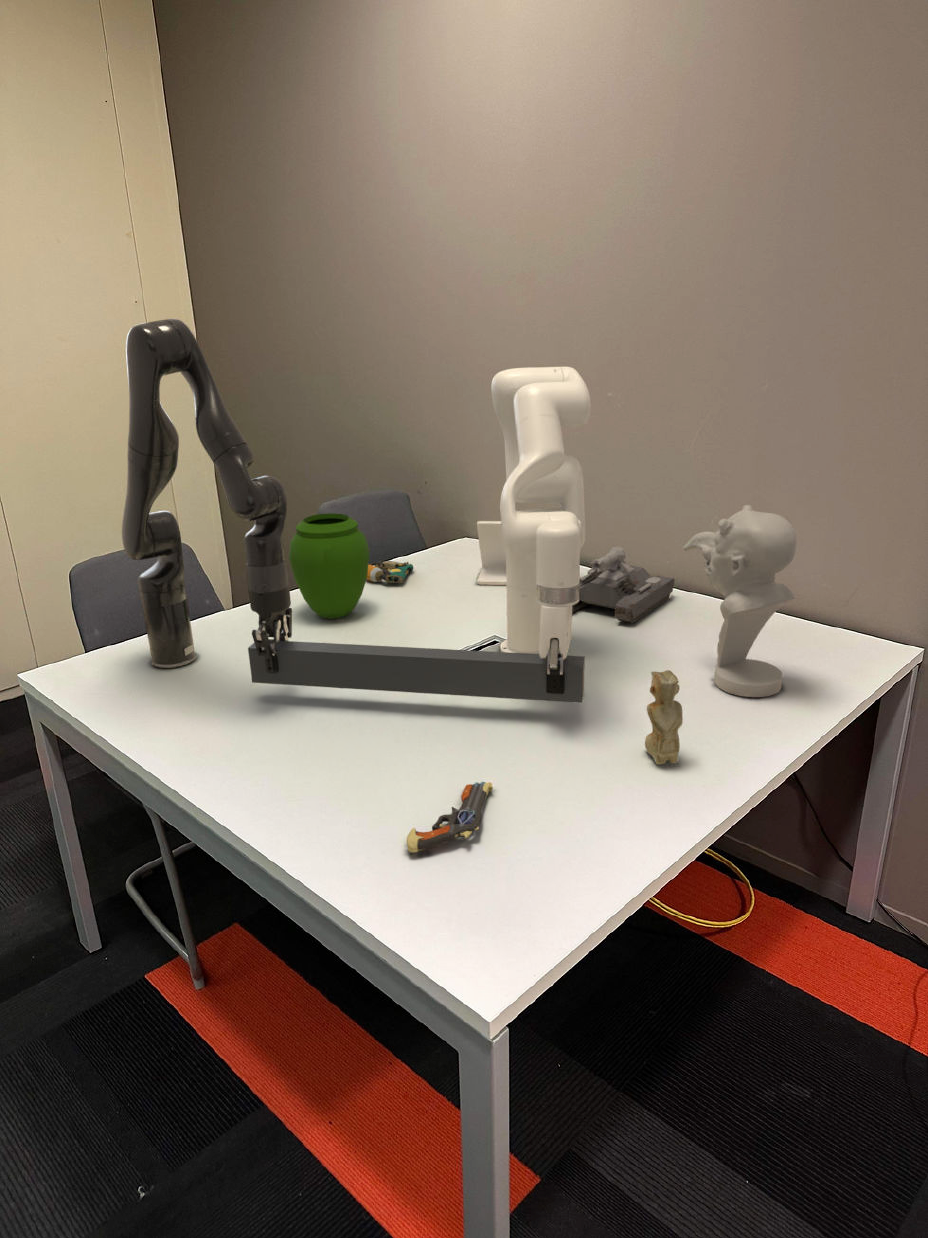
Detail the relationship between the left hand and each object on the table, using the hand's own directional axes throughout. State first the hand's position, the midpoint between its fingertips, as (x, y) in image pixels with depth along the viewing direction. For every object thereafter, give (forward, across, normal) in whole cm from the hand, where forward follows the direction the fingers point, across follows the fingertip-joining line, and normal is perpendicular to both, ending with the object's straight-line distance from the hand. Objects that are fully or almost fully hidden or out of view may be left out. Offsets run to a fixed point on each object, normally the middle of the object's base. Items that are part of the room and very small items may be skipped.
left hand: (277, 667), depth 166 cm
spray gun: (+7, -79, 0) cm, 79 cm away
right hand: (+1, 0, +54) cm, 54 cm away
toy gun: (+7, +36, +42) cm, 56 cm away
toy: (+7, -63, +63) cm, 90 cm away
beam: (+3, 0, +27) cm, 27 cm away
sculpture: (+7, +12, +73) cm, 75 cm away
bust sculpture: (+7, -21, +87) cm, 90 cm away
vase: (+7, -48, -6) cm, 49 cm away
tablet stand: (+7, -85, +37) cm, 93 cm away
